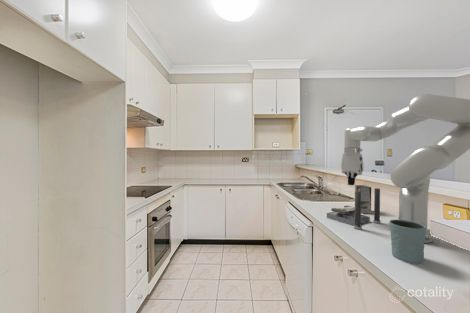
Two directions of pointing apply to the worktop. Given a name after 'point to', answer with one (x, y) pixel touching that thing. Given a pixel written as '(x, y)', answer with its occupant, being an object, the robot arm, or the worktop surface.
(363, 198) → the coffee box
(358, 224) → the dark grey rod
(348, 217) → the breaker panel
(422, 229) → the teal green cup
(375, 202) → the dark grey post
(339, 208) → the block
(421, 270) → the worktop surface
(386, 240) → the worktop surface
